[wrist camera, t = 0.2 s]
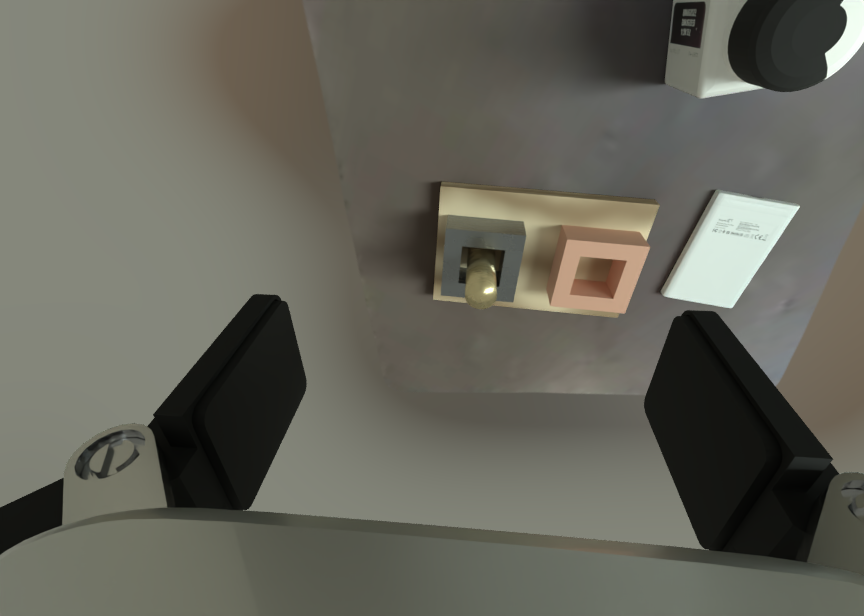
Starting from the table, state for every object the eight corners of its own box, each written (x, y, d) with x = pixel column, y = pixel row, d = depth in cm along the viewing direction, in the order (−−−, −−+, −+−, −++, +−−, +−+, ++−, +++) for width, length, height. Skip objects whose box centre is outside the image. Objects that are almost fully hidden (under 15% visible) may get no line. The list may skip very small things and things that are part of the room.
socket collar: (562, 224, 45) (567, 239, 42) (639, 231, 45) (650, 247, 42) (546, 289, 50) (550, 306, 47) (616, 295, 49) (624, 313, 46)
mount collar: (448, 214, 46) (445, 228, 43) (523, 221, 45) (526, 235, 42) (443, 279, 50) (440, 295, 47) (511, 285, 50) (513, 302, 47)
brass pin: (469, 238, 47) (466, 280, 40) (496, 240, 47) (499, 284, 39) (466, 262, 49) (463, 307, 41) (492, 264, 48) (494, 310, 41)
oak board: (441, 181, 45) (440, 186, 44) (654, 199, 44) (659, 205, 43) (434, 292, 53) (433, 299, 52) (614, 310, 52) (617, 317, 51)
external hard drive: (658, 289, 51) (713, 187, 43) (726, 301, 51) (793, 201, 43) (663, 296, 49) (720, 193, 42) (733, 309, 49) (803, 207, 42)
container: (662, 85, 38) (731, 114, 28) (673, -23, 34) (760, -36, 23) (759, 68, 37) (871, 92, 26) (783, -46, 33) (928, -73, 22)
